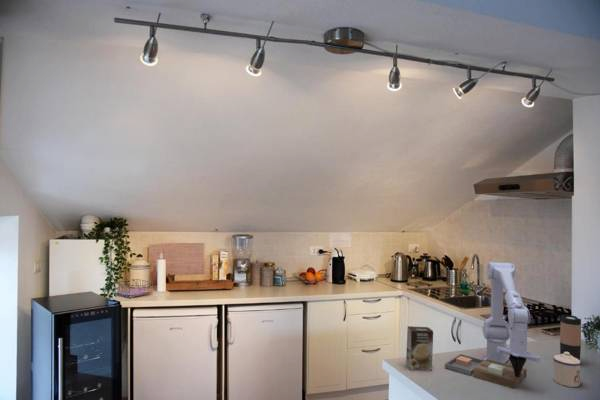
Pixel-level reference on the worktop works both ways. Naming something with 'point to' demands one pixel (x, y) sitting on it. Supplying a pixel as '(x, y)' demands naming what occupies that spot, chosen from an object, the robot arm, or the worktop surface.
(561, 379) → the cream lidded canister
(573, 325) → the travel mug
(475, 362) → the box
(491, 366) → the sage tile
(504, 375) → the walnut plate
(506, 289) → the robot arm
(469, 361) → the terracotta tile
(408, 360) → the coffee box
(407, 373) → the worktop surface
